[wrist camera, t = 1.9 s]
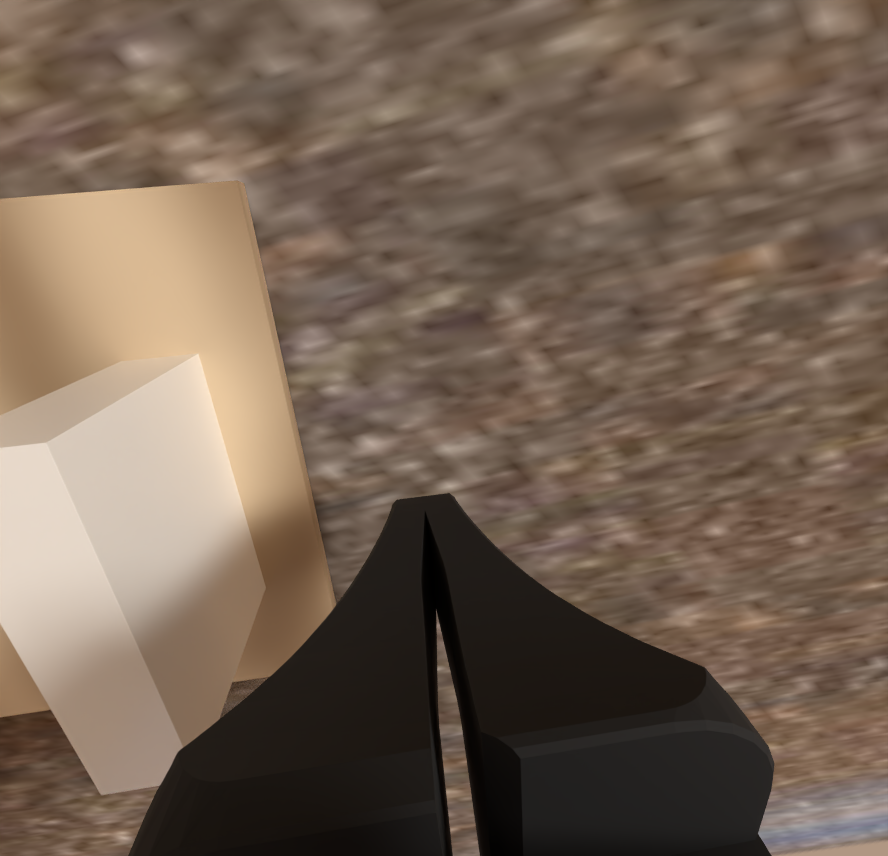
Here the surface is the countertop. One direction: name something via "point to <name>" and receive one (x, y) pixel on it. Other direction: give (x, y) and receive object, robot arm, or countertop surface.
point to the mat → (161, 335)
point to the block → (126, 563)
